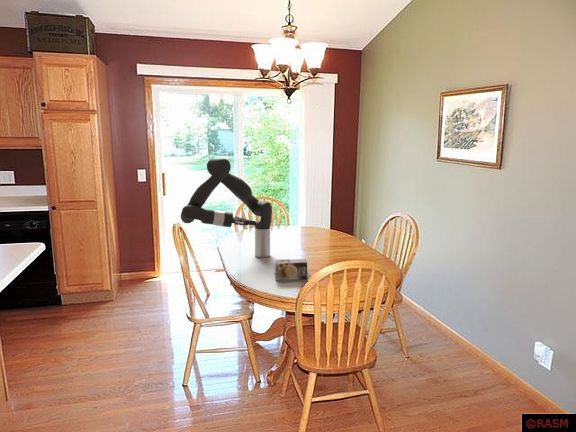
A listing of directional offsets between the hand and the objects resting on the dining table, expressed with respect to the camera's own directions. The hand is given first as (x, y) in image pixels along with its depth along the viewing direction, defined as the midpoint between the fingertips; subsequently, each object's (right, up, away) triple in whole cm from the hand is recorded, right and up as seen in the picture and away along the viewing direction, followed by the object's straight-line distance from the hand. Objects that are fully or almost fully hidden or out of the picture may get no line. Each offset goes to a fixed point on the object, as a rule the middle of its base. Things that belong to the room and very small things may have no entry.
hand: (255, 223), depth 210 cm
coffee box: (+10, -24, +1) cm, 26 cm away
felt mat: (+19, -28, +4) cm, 34 cm away
